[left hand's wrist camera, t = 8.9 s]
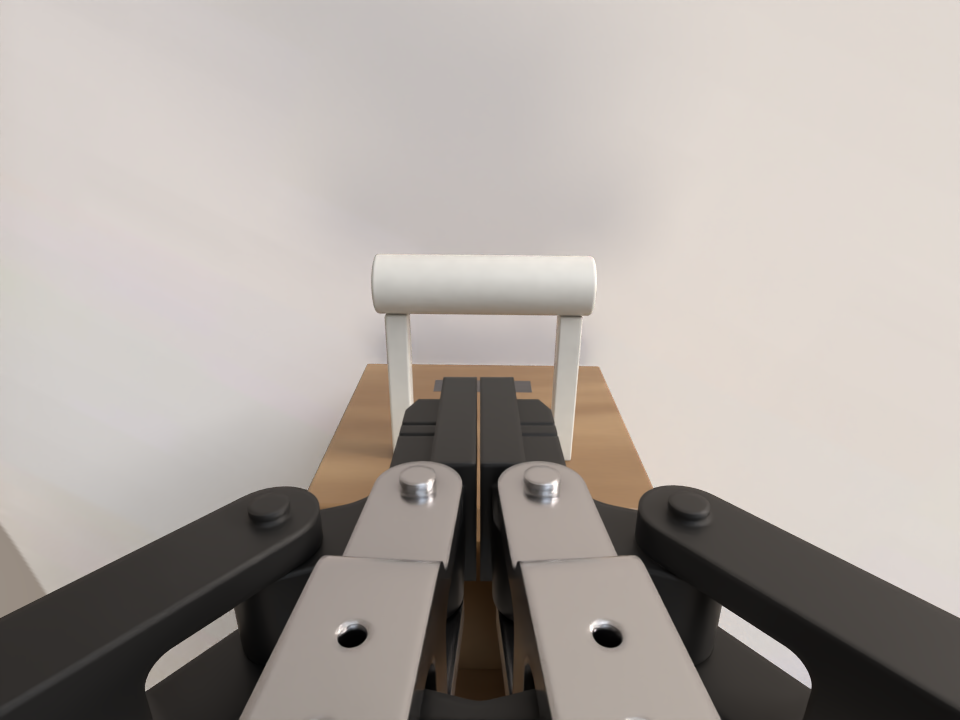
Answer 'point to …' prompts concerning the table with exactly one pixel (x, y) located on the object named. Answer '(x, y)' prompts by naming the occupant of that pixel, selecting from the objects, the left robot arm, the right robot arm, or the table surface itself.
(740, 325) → the table surface
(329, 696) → the left robot arm
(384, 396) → the drawer
